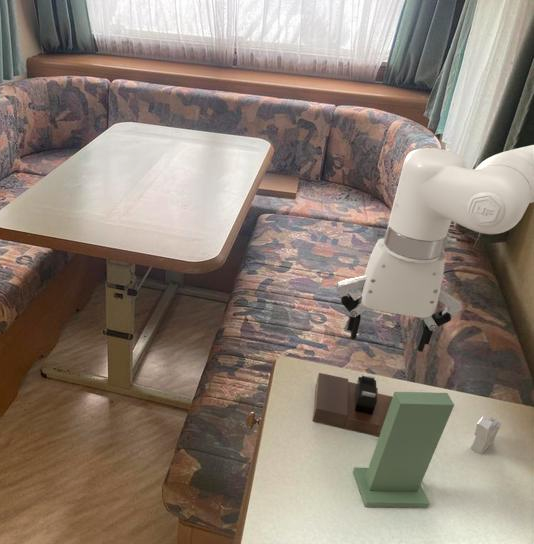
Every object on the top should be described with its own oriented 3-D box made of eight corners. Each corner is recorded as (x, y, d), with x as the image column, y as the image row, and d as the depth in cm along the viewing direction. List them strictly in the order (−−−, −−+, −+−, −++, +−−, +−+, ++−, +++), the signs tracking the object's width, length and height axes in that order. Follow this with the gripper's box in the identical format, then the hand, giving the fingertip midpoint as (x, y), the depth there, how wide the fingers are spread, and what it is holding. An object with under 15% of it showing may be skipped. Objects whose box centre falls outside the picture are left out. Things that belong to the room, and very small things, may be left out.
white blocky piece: (482, 435, 93) (499, 399, 89) (492, 442, 92) (511, 405, 88) (461, 457, 89) (478, 420, 85) (472, 464, 88) (490, 427, 84)
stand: (427, 507, 81) (469, 416, 71) (364, 506, 81) (398, 414, 71) (411, 472, 86) (448, 382, 77) (352, 471, 86) (382, 381, 76)
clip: (371, 394, 97) (377, 376, 94) (372, 415, 92) (378, 396, 90) (354, 390, 97) (359, 372, 95) (354, 411, 93) (360, 393, 91)
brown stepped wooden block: (404, 404, 98) (409, 391, 97) (408, 443, 91) (413, 430, 89) (315, 385, 101) (318, 372, 100) (312, 421, 94) (316, 408, 92)
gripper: (476, 238, 80) (442, 336, 89) (348, 220, 84) (328, 316, 93) (487, 263, 74) (449, 366, 83) (348, 243, 77) (326, 343, 86)
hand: (385, 339), depth 88 cm, fingers open, 9 cm apart
